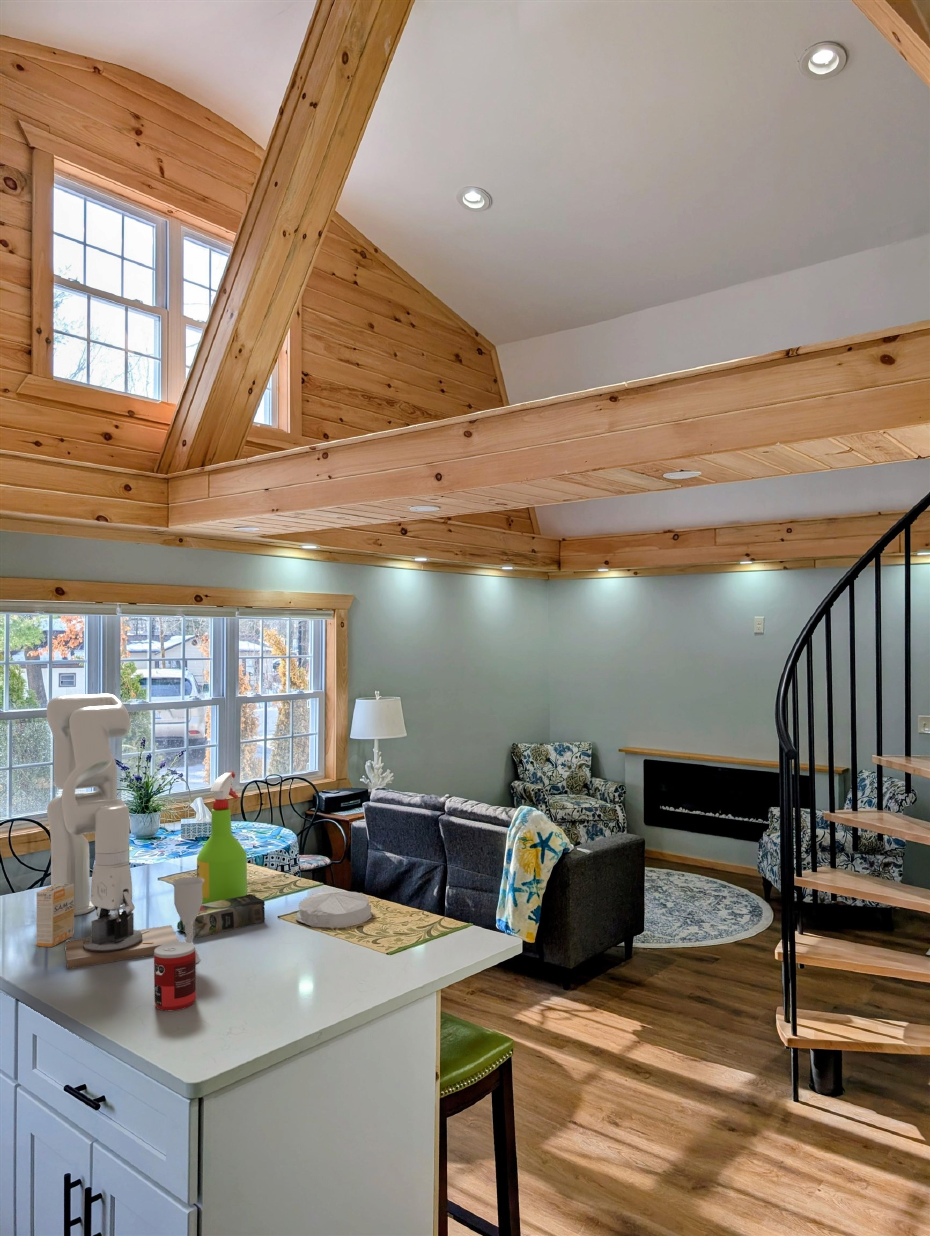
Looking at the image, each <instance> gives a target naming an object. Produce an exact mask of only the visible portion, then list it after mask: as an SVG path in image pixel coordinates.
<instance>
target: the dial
mask: <svg viewBox="0 0 930 1236" xmlns="http://www.w3.org/2000/svg"><path fill="white" fill-rule="evenodd" d="M119 912H120V914H121V913H122V912H123V911H119ZM134 916H135V915H134V912H133V911H132V912H131V914H130V916H129V919H128V935H127V936H126V937H123V938H120V939H115V938H114V922H116V917H115V913H114V914H111V915H110V916H106V917H103V918H100V919H98V918H97V919H94V920H91V934H90V935H89V936H87V937H85V938H86V939H84V941H83V948H84V949H85V950H87V951H90V952H112V951H118V950H123V949H127V948H130V947H132V946H135V945H137V944H138V943H140V942H141V941H142V932H140V931H138V930H139V929H134V927H135V926H134V923H135V922H134V921H135V920H134Z"/></svg>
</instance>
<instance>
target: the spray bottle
mask: <svg viewBox="0 0 930 1236" xmlns="http://www.w3.org/2000/svg"><path fill="white" fill-rule="evenodd" d="M235 778H236V773H235V772H234V771H231V770H230V771H227V772H224V773H223V774H222V775H220V776H218V777H217V778H216V779H215V780H214V782H213V784H212V786H211V788H210V791H209V792H211V793H213V806H212V807H213V808H212V809H211V817H210V819H211V820H210V821H211V822H210V823H211V824H210V825H211V828H210V829H211V830H210V835H211V836H210V837H209V838H208V839H207V841H206V842H205V843H204V844H203V845H202V848H201V850H200V851H199V853H198V854H197V857H196V877H199V878H203V879H204V882H203V884H202V904H207V903H210V902H215V901H221V900H225V899H230V898H236V897H241V896H245V895H248V867H247V866H248V858H247V857H248V855H247V852H246V851H245V848H244V847H243V845H242V844H241V843H240V841H239V840H238V839H237V838H236V837H235V836H234V835H233V833H232V817H231V816H232V815H231V814H232V813H231V811H232V810H231V807H229V800H228V799H227V798H228V797H229V796H230V797H231V798H233V799H238V800H239V799H240V796H238V794H237V792H236V791H234V790H233V783H234V779H235Z"/></svg>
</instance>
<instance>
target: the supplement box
mask: <svg viewBox="0 0 930 1236" xmlns="http://www.w3.org/2000/svg"><path fill="white" fill-rule="evenodd" d="M74 922H75V916H74V884H70V883H58V884H56V885H53V886H51V885H50V886H48V887H46V888H44V889H41V890H37V891H36V927H35V928H36V931H35V932H36V936H35V938H36V941H35V942H36V946H37V947H48V948H49V947H50V948H51V947H52V948H53V947H55V946H56V945H58V944H60V943H62V942H63V941H65V940H66V941H67V940H68V939H70V938H72V937H74V935H75V934H74V933H75V923H74Z"/></svg>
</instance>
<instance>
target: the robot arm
mask: <svg viewBox="0 0 930 1236" xmlns="http://www.w3.org/2000/svg"><path fill="white" fill-rule="evenodd" d="M46 718H47V719H46V720H47V723H48V726H49V729H50V731H51V734H52V737H53V743H54V744H53V780H54V785H55V786H56V787H57V788H58V789H60V790H62V791H61V795H58V796H55V797H53V798H52V799H51V800H50V801H49V803H48V805H47V810H46V814H47V815H46V816H47V820H48V827H49V832H50V833H49V834H50V865H51V866H50V876H51V877H50V881H51V882H50V887H51V886H53V885H56V884H58V883H70V884H74V917H76V916H81V915H85V914H87V913H90V912H93V910H96V914H95V915H96V916H97V919H100V918H103V917H106V916H110V915H112V913H110V912H111V911H113V912H114V914H115V917H116V922H114V938H115V939H120V938H123V937H126V936H127V935H128V919H129V916H130V914H131V912H133V911H134V910H135V908H136V907H135V905H134V903H133V884H132V883H133V882H132V871H131V865H130V861H131V860H130V809H129V807H128V805H127V804H126V803H125V801H124V800H122V799H120V798H117V796H118V794H117V793H118V792H117V791H118V790H117V789H118V768H117V762H116V760H115V757H114V756H113V754H112V751H111V745H110V739H111V738H123V737H126V736H127V735H128V733H129V732H130V729H131V719H130V715H129V712H128V709H127V708H126V706H125V704H124V703H123V702H122V701H121V700H120V699H119V698H118V697H117V696H116V695H114V694H111V693H97V694H96V693H93V694H92V693H91V694H69V695H68V694H67V695H61V696H56V697H53V698H51V699H50V700H49V701H48V703H47V706H46ZM91 788H97V790H94V791H86V792H76V790H81V789H91ZM92 833H94V838H95V839H94V848H95V849H94V860H95V861H94V864H93V869H92V873H91V886H90V843H89V841H88V839H87V838H86V837H85V836H84V835H87V834H92ZM90 888H91V889H90ZM90 891H91V892H90ZM120 910H122V911H120ZM120 912H122V913H121V914H120Z"/></svg>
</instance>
